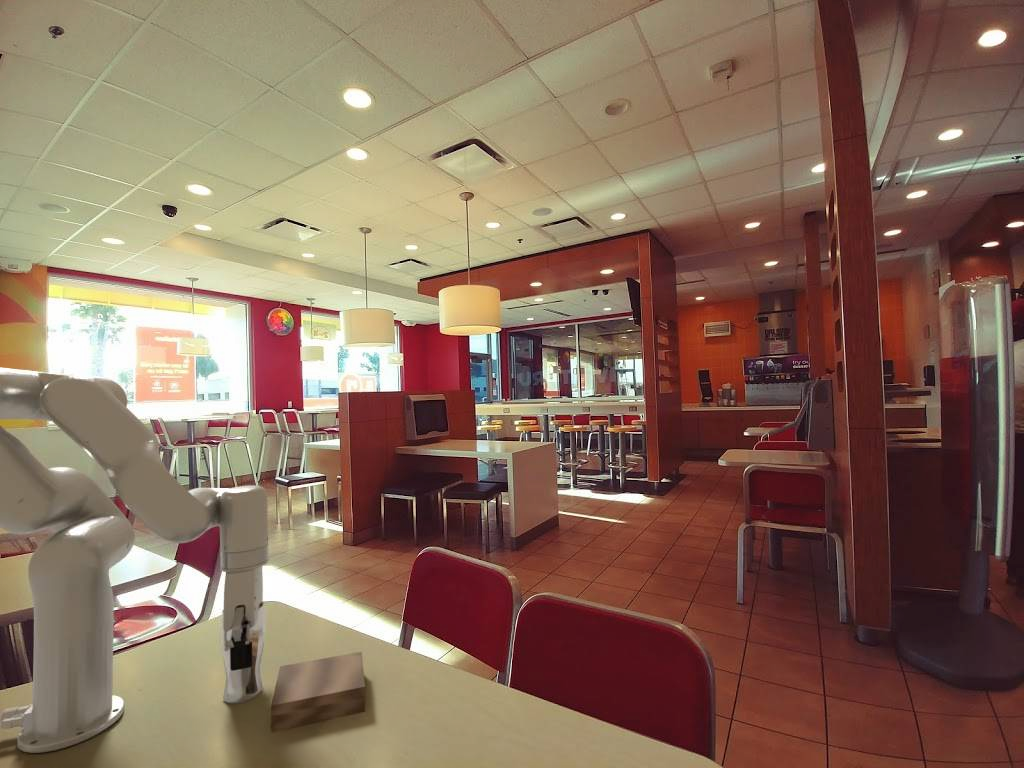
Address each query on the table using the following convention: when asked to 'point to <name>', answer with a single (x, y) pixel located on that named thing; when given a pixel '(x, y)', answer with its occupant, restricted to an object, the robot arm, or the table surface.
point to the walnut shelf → (318, 691)
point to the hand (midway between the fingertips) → (246, 654)
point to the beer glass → (246, 680)
